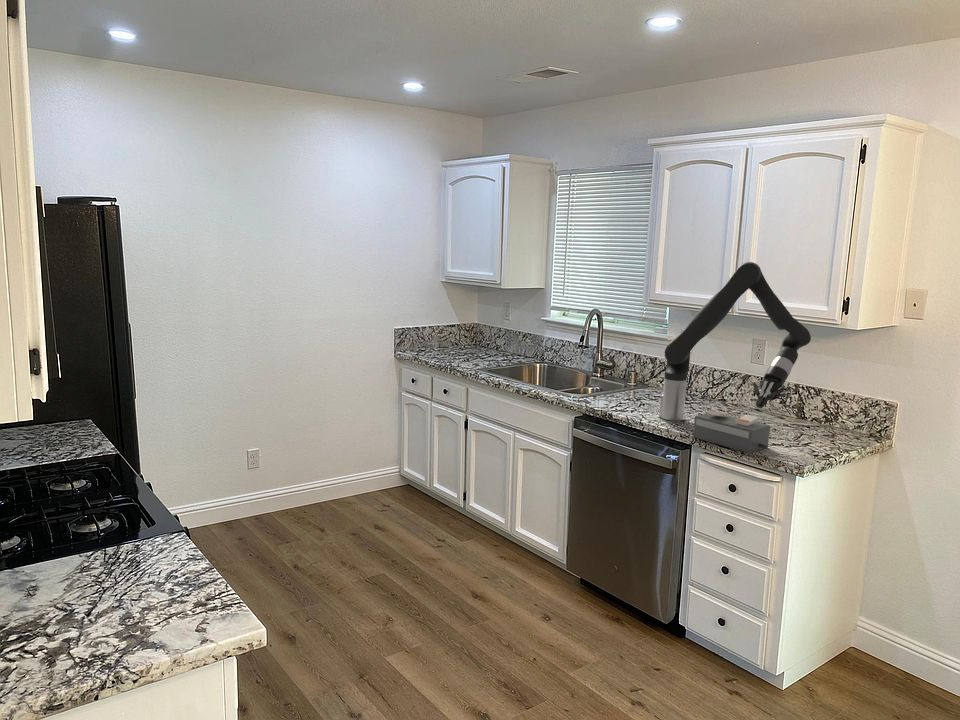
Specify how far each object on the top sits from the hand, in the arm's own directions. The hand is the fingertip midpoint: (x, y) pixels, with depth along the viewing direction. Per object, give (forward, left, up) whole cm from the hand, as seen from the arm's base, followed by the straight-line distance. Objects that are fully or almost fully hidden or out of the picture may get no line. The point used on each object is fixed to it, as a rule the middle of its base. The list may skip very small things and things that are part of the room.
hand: (758, 406), depth 268 cm
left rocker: (-12, -7, -4) cm, 15 cm away
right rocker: (0, -7, -4) cm, 8 cm away
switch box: (-5, -8, -14) cm, 17 cm away
